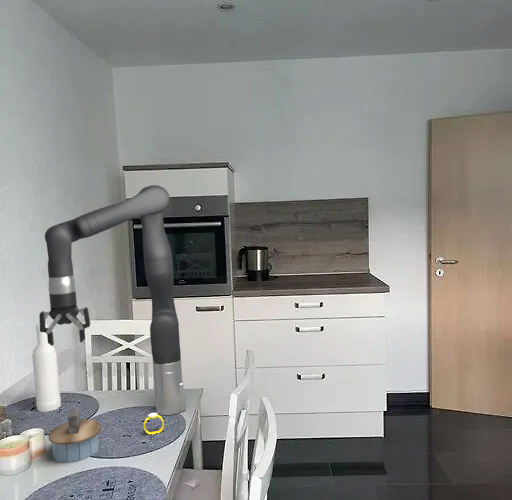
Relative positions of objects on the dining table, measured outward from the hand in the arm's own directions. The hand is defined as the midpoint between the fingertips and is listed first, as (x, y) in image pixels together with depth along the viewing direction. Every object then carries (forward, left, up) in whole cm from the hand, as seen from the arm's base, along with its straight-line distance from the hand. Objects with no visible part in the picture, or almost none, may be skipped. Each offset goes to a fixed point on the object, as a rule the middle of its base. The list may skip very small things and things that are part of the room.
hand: (66, 343), depth 151 cm
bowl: (-2, +14, -28) cm, 31 cm away
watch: (-24, +10, -28) cm, 39 cm away
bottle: (+11, -24, -28) cm, 39 cm away
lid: (-2, +14, -23) cm, 27 cm away
